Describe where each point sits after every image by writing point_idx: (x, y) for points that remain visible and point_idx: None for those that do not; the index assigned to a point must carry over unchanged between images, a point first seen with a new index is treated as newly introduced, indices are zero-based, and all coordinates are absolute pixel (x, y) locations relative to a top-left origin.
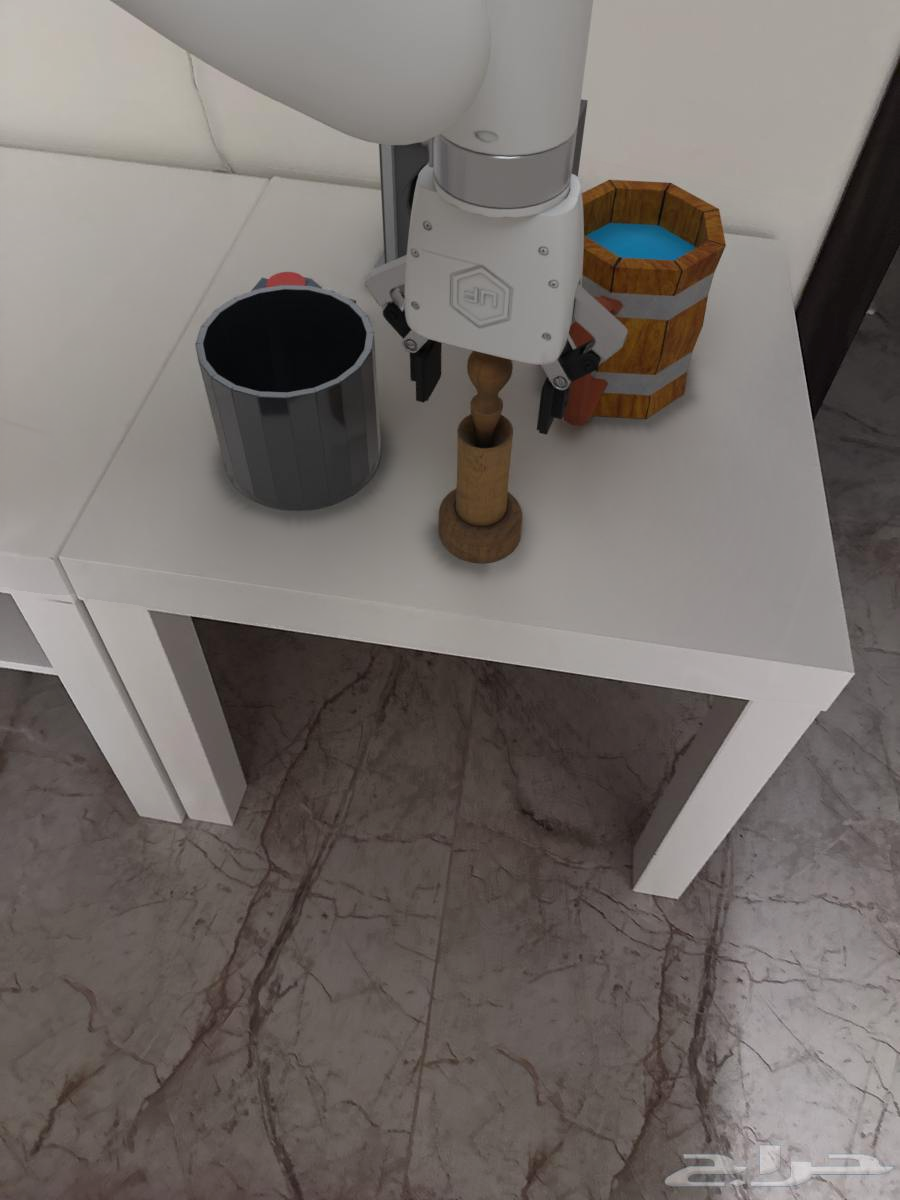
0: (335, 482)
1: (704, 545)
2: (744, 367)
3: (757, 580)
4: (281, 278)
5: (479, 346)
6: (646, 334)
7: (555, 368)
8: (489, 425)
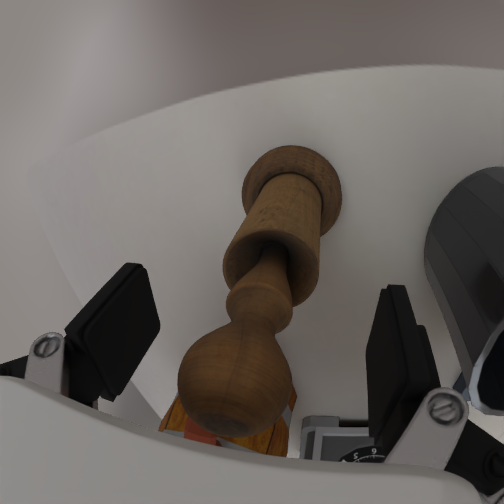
0: (464, 199)
1: (108, 239)
2: (162, 391)
3: (71, 219)
4: None
5: (147, 462)
6: (182, 418)
7: (37, 373)
8: (249, 271)
